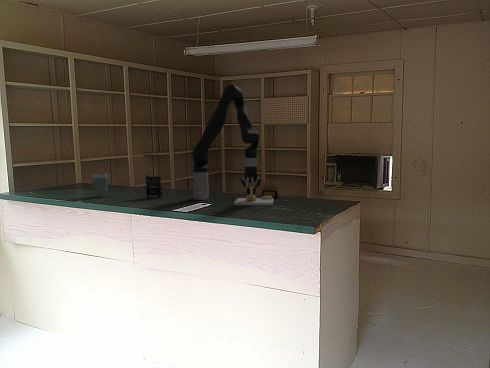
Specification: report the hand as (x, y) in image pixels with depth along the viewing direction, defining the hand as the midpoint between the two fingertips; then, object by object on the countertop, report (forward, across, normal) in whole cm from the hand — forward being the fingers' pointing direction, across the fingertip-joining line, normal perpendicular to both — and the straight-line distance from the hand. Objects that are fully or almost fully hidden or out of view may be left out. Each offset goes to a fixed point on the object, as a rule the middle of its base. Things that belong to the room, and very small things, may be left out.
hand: (251, 194), depth 260 cm
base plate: (+5, -2, +1) cm, 6 cm away
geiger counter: (+5, +67, -2) cm, 67 cm away
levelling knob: (+4, 0, 0) cm, 4 cm away
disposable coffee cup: (+5, +103, +5) cm, 103 cm away
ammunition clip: (+5, -6, -19) cm, 21 cm away
